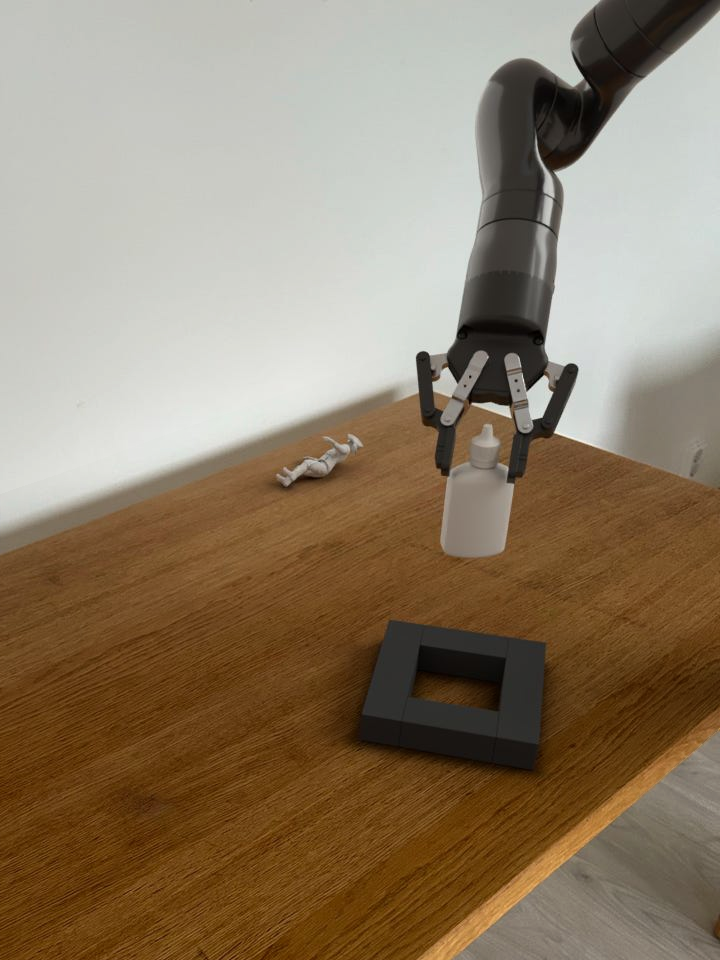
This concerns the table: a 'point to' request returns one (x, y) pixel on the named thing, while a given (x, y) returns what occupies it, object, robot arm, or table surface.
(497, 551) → the eye dropper bottle
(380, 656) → the black rectangular frame
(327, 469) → the soldier figure
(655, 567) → the table surface
